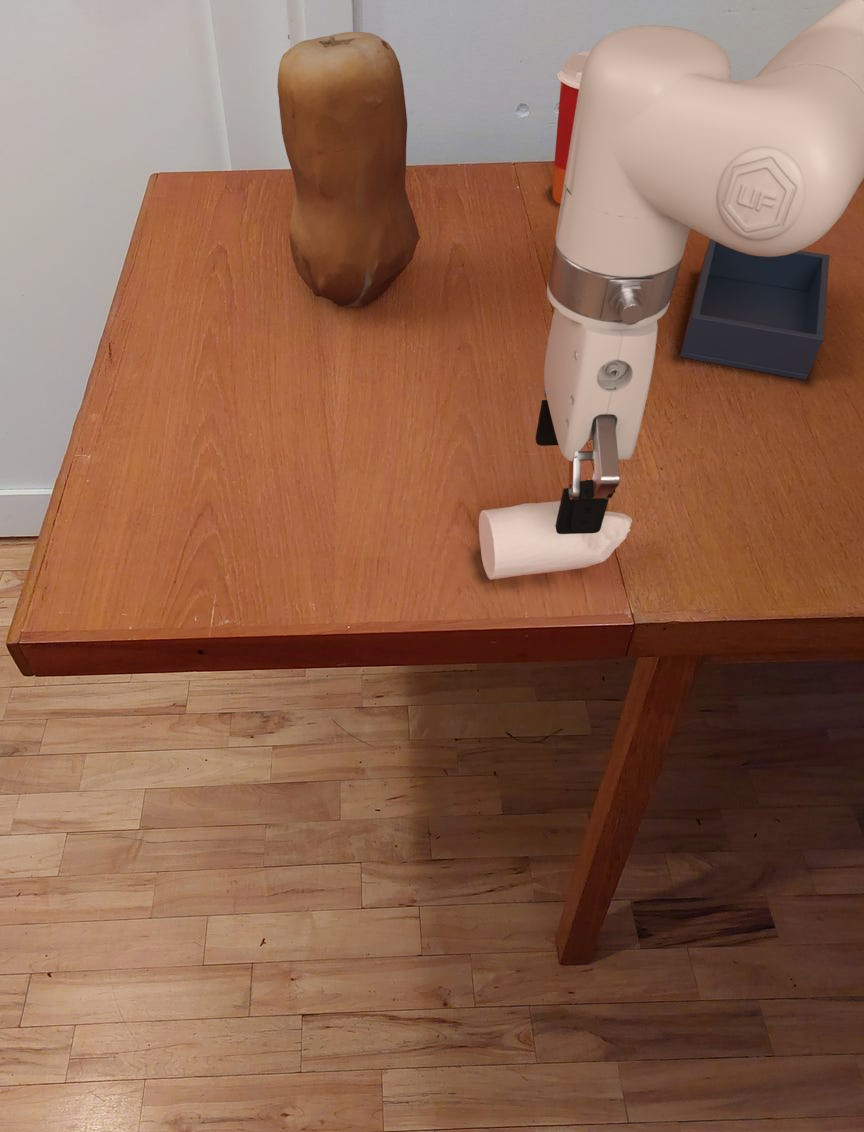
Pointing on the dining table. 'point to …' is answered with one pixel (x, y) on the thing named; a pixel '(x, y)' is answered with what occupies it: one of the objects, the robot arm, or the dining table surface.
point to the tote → (758, 311)
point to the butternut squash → (347, 165)
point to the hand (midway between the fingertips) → (565, 485)
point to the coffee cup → (566, 117)
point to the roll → (542, 541)
